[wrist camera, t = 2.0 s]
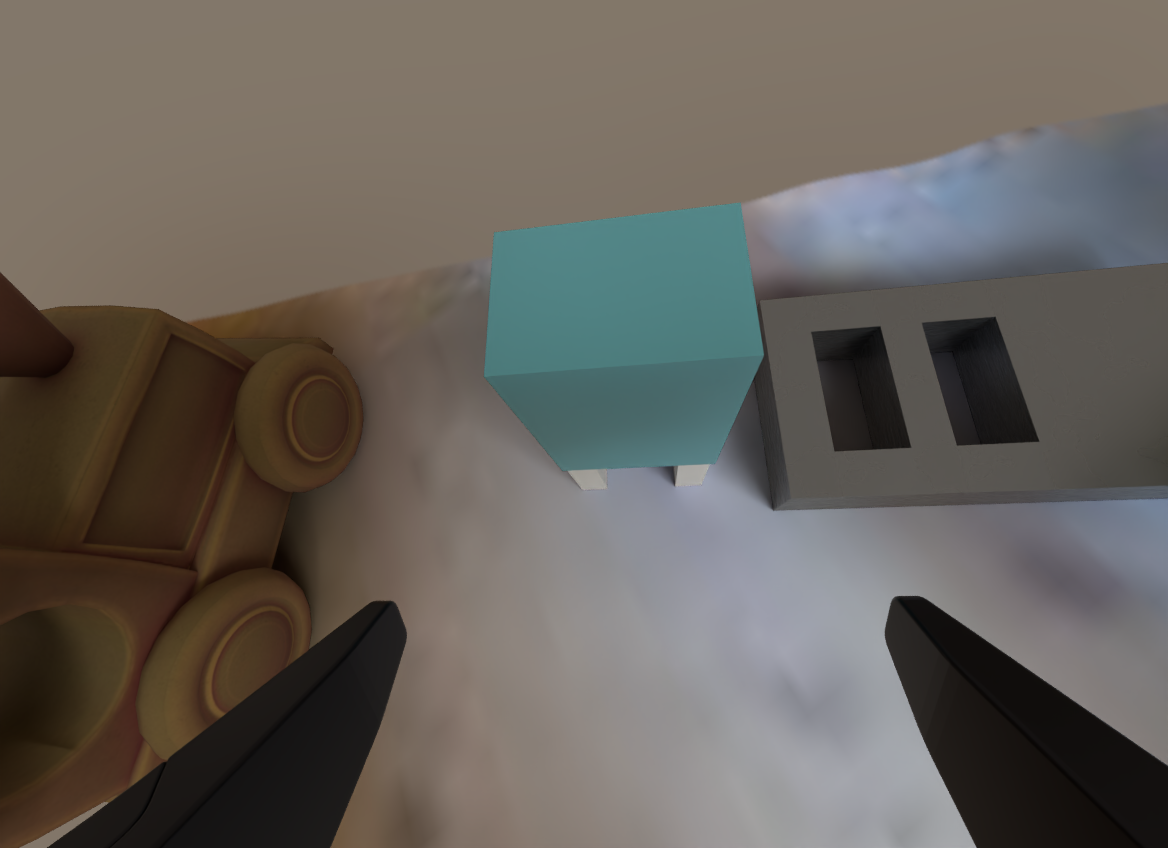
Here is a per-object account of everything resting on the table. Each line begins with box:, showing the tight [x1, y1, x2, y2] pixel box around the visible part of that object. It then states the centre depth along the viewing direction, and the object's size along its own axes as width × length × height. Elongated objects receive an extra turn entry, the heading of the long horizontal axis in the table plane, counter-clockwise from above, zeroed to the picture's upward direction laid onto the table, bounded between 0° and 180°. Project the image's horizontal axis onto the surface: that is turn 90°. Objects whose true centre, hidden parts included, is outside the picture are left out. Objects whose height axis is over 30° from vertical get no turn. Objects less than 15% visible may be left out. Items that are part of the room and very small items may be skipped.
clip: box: [484, 203, 764, 490], centre depth 17 cm, size 4×6×13 cm, turn 91°
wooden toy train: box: [0, 273, 363, 848], centre depth 17 cm, size 20×11×17 cm, turn 176°
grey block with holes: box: [754, 263, 1168, 511], centre depth 20 cm, size 9×18×3 cm, turn 91°
